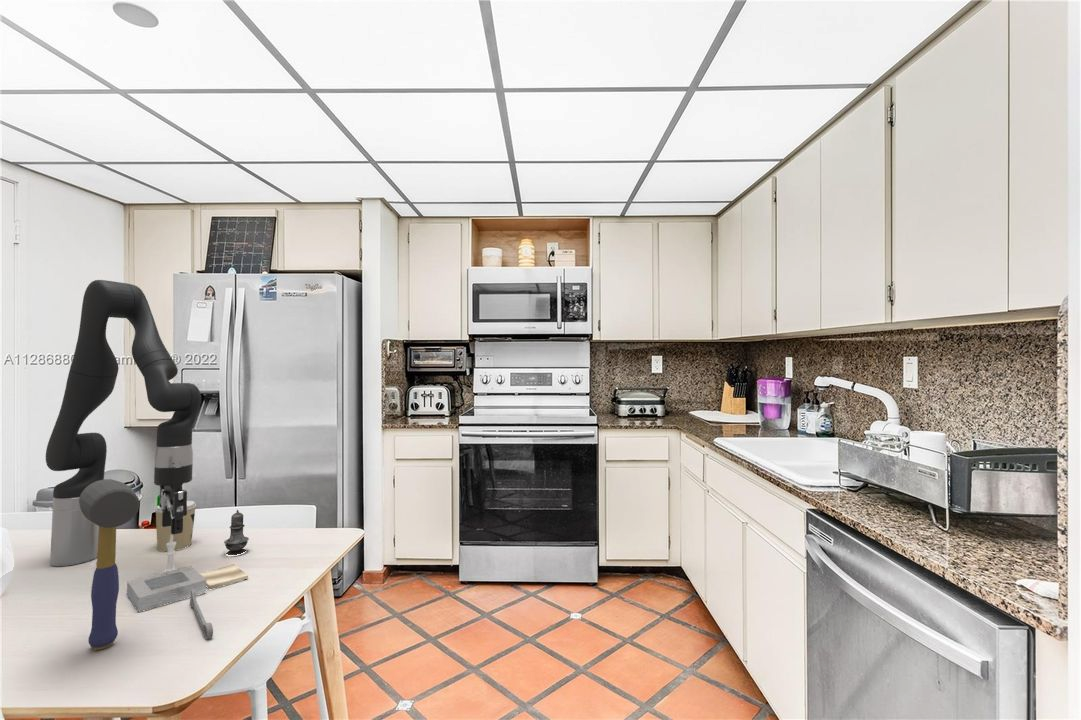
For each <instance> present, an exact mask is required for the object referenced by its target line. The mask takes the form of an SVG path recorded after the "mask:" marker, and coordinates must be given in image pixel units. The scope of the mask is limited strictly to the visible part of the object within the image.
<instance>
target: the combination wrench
mask: <svg viewBox="0 0 1081 720" xmlns="http://www.w3.org/2000/svg"><path fill="white" fill-rule="evenodd" d="M190 606H191V607H190ZM189 607H190V609H193V611H194V614H195V616H196V618H197V620H198V623H199V625H200V628H201V632H202V637H203V639H205V640H206V641H207V640H211V639H212V638H213V636H214V628H213V625H212V623H211V622H207V621H206V620H205V617H204V615H203V613H202V612H203V611H202V610H201V608H200V606H199V604H198V602H197V596H196V591H195V589H191V598H189Z"/></svg>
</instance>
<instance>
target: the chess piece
mask: <svg viewBox="0 0 1081 720" xmlns="http://www.w3.org/2000/svg"><path fill="white" fill-rule="evenodd" d="M175 545H176V542H173V535H170V542H168V543H167V544H166V546H167V549H168V551H167V552H165V556H168V557H167V563H166V567H165V569H164V571H161V572H160V573H163V572H167V571H171V570H175V569H177V567H175V562H174V561H175V559H174V555H175V554H176V553H177V550H176V551H174V548H175Z"/></svg>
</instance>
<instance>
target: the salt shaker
mask: <svg viewBox="0 0 1081 720" xmlns="http://www.w3.org/2000/svg"><path fill="white" fill-rule="evenodd" d="M239 511H240V510H239V509H237V510H236V512H235V513H233V514H232V515H231V519H230V520H231V522H230V526H229V529H230V535H229V538H227V539H226V540H224V542H223V543H224V545H225V548H226V550H228V551H226V552H225V553H226V554H228V555H237V554H241V553H243V552H245V551H246V550H247V549H245V547H246V546H247V545H248V541H249V539H250V538H249V536H248V537H247V536H245V534H244V527H245V524H244V514H243V513H242V512H239Z"/></svg>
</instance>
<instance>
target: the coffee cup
mask: <svg viewBox="0 0 1081 720" xmlns="http://www.w3.org/2000/svg"><path fill="white" fill-rule="evenodd" d="M196 507H197V503H196V502H195V501H193V500H187V515H186V516H184V517H183V531H182V533H179V534H171V526H167V527H163V526H162V511H161V508H160V506H159V505H157V506H156V508H155V509H154V512H155V525H156V527H155V528H156V546H157V550H158V552H163V551H164V552H165V551H167V552H168V549H167V546H166V544H167V543H168V542H170V535H173V542H176V545H175V548H174V550H176V551H179V550H178V549H180V550H183V549H182V548H184V549H185V547H186V548H188V547H190V546H191V545H192V540H193V532H194V524H195V523H194V522H195V516H196V515H195V513H196ZM177 512H180V509H177ZM190 544H191V545H190ZM189 545H190V546H189ZM187 546H188V547H187ZM165 553H166V552H165Z"/></svg>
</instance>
